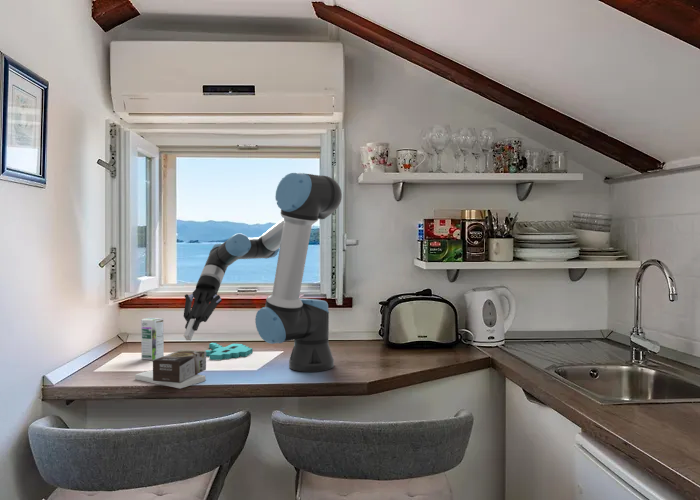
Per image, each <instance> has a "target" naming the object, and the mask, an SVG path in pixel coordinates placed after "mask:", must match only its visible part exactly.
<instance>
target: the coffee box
mask: <svg viewBox="0 0 700 500" xmlns="http://www.w3.org/2000/svg"><path fill="white" fill-rule="evenodd" d="M152 370H153V381H162V382H176V383H180V382H182V381H184V380H186V379H188V378H190V377H192V376H194V375H196V374H198V375H199V374H201V373H202V372H204V371H206V370H207V356H206V350H193V349H178V350H176V351H174V352H172V353H169V354H166V355H164V356H163V357H161V358H158V359H155V360H152Z"/></svg>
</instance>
